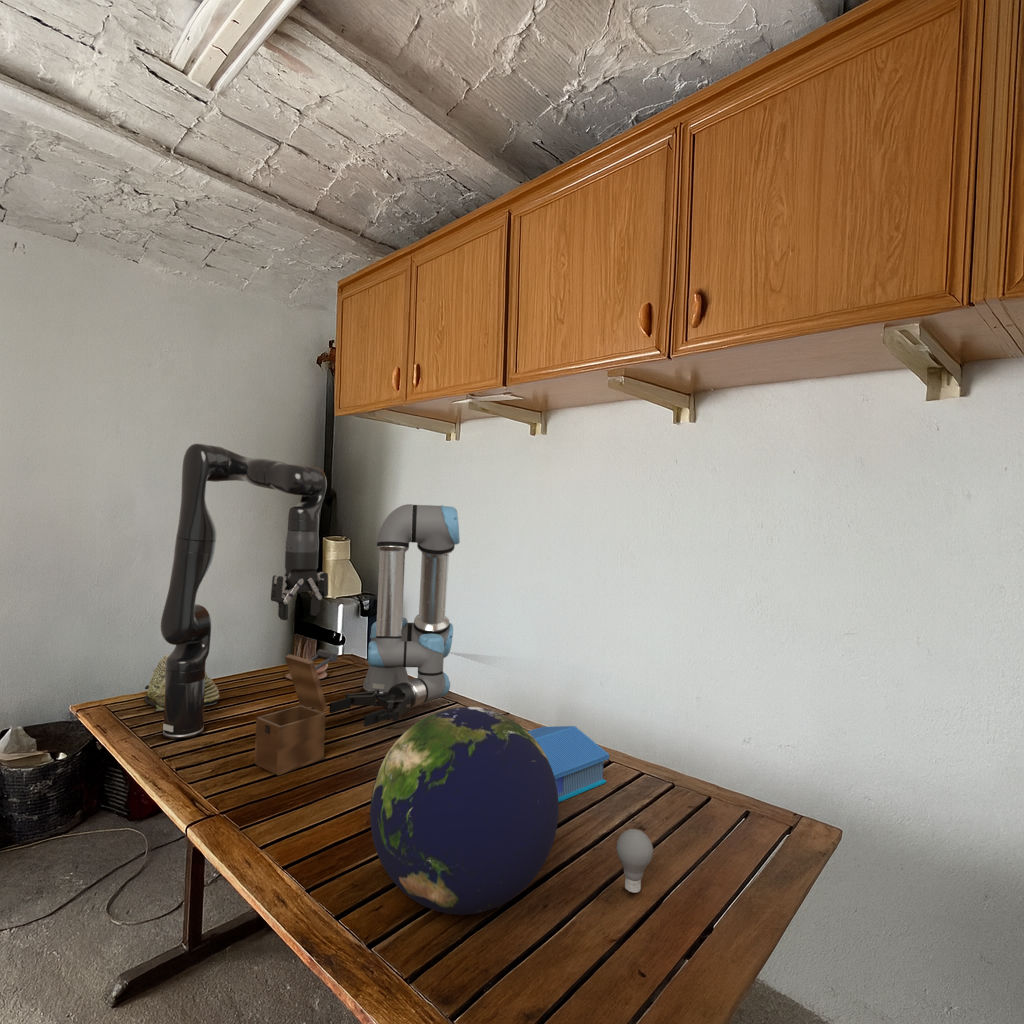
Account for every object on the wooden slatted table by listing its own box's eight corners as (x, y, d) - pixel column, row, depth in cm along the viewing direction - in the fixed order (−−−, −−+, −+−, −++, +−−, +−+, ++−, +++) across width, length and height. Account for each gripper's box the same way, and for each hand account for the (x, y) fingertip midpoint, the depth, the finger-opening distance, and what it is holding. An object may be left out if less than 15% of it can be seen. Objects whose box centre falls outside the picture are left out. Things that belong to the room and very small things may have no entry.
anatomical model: (280, 667, 215) (298, 659, 227) (279, 678, 215) (297, 670, 227) (316, 671, 213) (332, 662, 224) (315, 682, 213) (332, 673, 224)
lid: (309, 664, 148) (339, 644, 155) (284, 656, 154) (314, 638, 161) (323, 712, 152) (352, 691, 159) (299, 703, 158) (328, 683, 165)
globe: (325, 925, 94) (333, 724, 93) (426, 831, 121) (433, 676, 121) (512, 993, 82) (522, 765, 82) (577, 872, 110) (584, 701, 110)
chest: (278, 775, 143) (280, 727, 143) (254, 763, 148) (256, 717, 148) (324, 758, 153) (325, 713, 153) (299, 748, 158) (301, 704, 158)
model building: (485, 844, 118) (488, 791, 117) (412, 795, 136) (414, 749, 136) (617, 787, 144) (619, 743, 144) (541, 752, 162) (543, 713, 162)
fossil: (144, 707, 182) (145, 655, 182) (212, 696, 194) (213, 647, 194) (151, 716, 175) (153, 662, 175) (221, 703, 188) (223, 653, 188)
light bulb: (610, 879, 108) (613, 822, 108) (644, 879, 109) (647, 822, 109) (619, 902, 102) (622, 840, 102) (655, 901, 103) (658, 840, 103)
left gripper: (285, 552, 143) (282, 623, 143) (336, 549, 154) (333, 616, 154) (265, 549, 147) (263, 619, 147) (317, 547, 159) (314, 611, 159)
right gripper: (438, 718, 174) (379, 741, 157) (376, 698, 188) (316, 716, 171) (439, 691, 174) (381, 711, 156) (377, 673, 188) (317, 689, 171)
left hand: (299, 617), depth 151 cm, fingers open, 8 cm apart
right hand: (347, 714), depth 164 cm, fingers open, 13 cm apart
